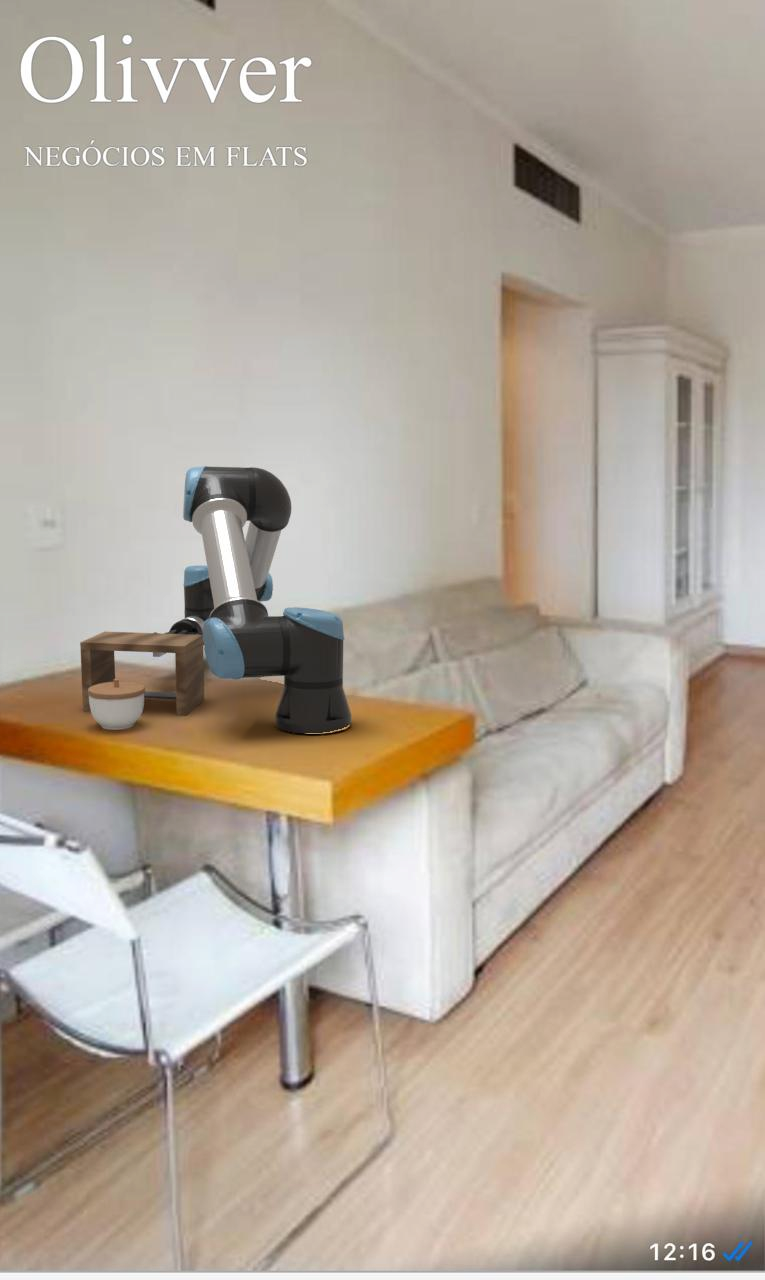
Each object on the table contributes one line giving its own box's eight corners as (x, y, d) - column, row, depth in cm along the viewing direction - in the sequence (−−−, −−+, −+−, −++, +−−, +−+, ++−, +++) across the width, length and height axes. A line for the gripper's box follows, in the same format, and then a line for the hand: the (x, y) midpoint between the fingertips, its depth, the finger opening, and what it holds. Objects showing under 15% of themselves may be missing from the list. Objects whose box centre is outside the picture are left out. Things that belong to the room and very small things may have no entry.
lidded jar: (129, 735, 183) (128, 687, 181) (78, 731, 185) (76, 683, 184) (155, 721, 193) (154, 675, 192) (106, 717, 196) (105, 671, 194)
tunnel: (204, 700, 210) (203, 635, 208) (186, 715, 198) (184, 646, 195) (107, 696, 212) (104, 631, 210) (83, 710, 200) (80, 642, 197)
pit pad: (200, 695, 214) (200, 693, 214) (195, 699, 211) (195, 698, 210) (122, 692, 216) (122, 690, 216) (115, 696, 212) (115, 694, 212)
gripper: (214, 649, 234) (185, 668, 211) (162, 648, 236) (127, 666, 212) (214, 619, 233) (184, 634, 210) (161, 617, 234) (126, 633, 211)
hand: (156, 650), depth 211 cm, fingers closed
